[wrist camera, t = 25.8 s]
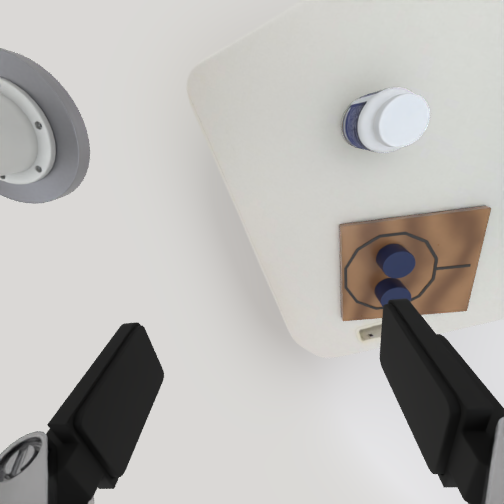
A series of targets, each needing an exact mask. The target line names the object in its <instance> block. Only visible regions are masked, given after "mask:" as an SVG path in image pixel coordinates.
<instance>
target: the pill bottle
mask: <svg viewBox="0 0 504 504" xmlns="http://www.w3.org/2000/svg"><path fill="white" fill-rule="evenodd" d="M429 119H430V109H429V105H428V103H427V101H426V100H425V99H424V98H423V97H422V96H420V95H418V94H415V93H413V92H411V91H410V90H408V89H406V88H401V87H392V88H387V89H383V90H381V91H377V92H374V93H371V94H367V95H364V96H362V97H360V98H358V99H356V100H355V101H354V102H352V103H351V104H350V105H349V107H348V108H347V109H346V111H345V113H344V115H343V118H342V122H341V130H342V134H343V137H344V139H345V140H346V141H347V142H348V143H349V144H350V145H352V146H354V147H357V148H361V149H365V150H369V151H373V152H378V153H388V152H393V151H395V150H398V149H400V148H401V147H405V146H408V145H410V144H412V143H414V142H415V141H416V140H418V139H419V138H420V137H421V135H422V134H423V133H424V131H425V130H426V128H427V126H428V123H429Z"/></svg>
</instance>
